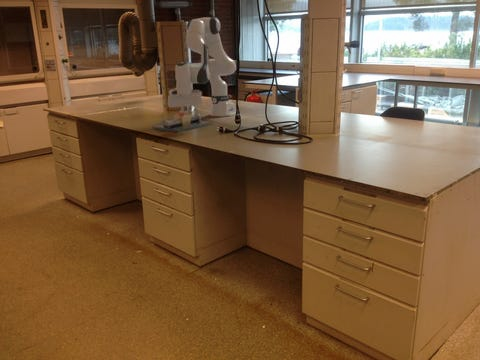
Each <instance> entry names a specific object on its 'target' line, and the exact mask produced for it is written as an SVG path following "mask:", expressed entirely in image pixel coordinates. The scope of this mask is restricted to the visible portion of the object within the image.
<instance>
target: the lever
mask: <svg viewBox="0 0 480 360" xmlns="http://www.w3.org/2000/svg"><path fill="white" fill-rule="evenodd" d="M177 115H179V117H182V116H184V115H186V114H184V113H183V110H182V108H181V109H179V112H178V113H177Z"/></svg>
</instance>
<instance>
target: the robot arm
mask: <svg viewBox="0 0 480 360" xmlns="http://www.w3.org/2000/svg"><path fill="white" fill-rule="evenodd" d="M221 27H222V26H221V22H220V19H218V18H217V17H214V16H212V17H207V16H206V17H199V18H195V19H194V18H193V19H190V20H189V21H188V22H187V24H186V30H187V31H186V37H185V44H186V46H187V48H188V49H189V50H190V51H191V52H194V53H197V54H199V55H201V56H200V63H201V65H200V66H190V64H189V62H188V61H180V62H177V63H176V64H175V68H174V69H175V70H174V73H175V75H174V77H175V80H176V85H175V88H172V89H169V91H168V94H169V95H168V96H167V107H168V108H181V109H182V110H183V113H184V114H185V115H189V110H190V107H196V106H199V107H200V106H202V104H203V100H202V96H203V92H202V91H201V90H200V89H193V88H192V84H201V85H206V84H207V83H208V82H209V83H210V86H211V97H210V98H211V99H210V100H211V103H210V104H211V106H210V113H209V114H210V116H211V117H231V116H234V115H237V114H236V111H237V107H236V105H235V103H233V102H232V101H231V100H230V99H231V98H232V95H231V94H228V84H227V82H226V81H224V80H223V79H222V78H221V76H229V75H233V74H235V73H236V70H237V65H236V62H235V60H234V59H232V58H230V56H228V54H227V53H226V51H225V50H224V47H223V43H222V40H221V36H220V31H221ZM210 57H211V58H210ZM185 107H186V110H185Z"/></svg>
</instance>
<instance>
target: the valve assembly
mask: <svg viewBox="0 0 480 360" xmlns="http://www.w3.org/2000/svg"><path fill="white" fill-rule="evenodd" d="M173 118H174V119H170V120H168V119H164V120H163V121H162V124H158V125H157V124H156V125H154V126H152V130H158V131H165V132H173V133H182V132H185V131H191V130H194V129H198V128H202V127H205V126H206V127H207V126H210V125H213V123H212V121H208V120H207V121H206V120H202V116H201V114H200V113H195V114H193V115H190V114H185V115H184V116H182V117H179V115H178V114H177V115H176V114H175V115H173Z"/></svg>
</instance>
